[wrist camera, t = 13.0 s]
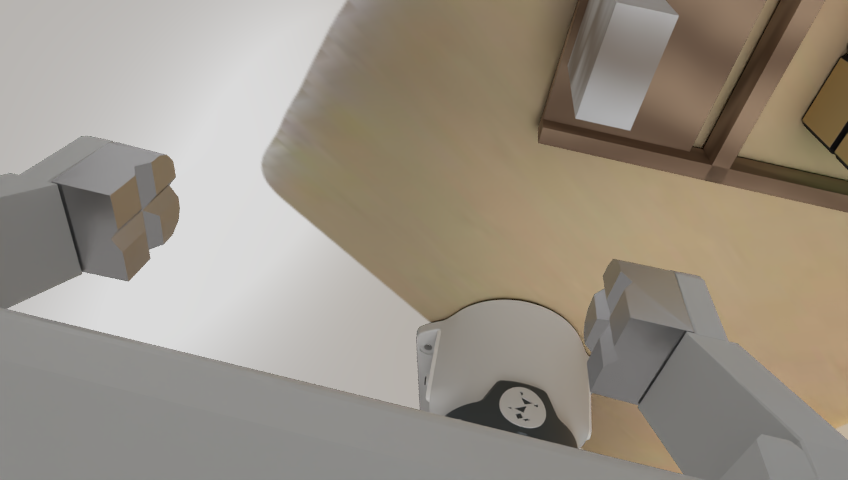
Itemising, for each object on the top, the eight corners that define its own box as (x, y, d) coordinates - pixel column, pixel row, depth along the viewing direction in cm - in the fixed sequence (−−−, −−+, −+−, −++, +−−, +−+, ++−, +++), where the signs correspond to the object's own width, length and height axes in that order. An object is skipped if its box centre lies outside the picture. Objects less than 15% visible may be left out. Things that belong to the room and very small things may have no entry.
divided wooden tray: (919, 213, 40) (1017, 306, 32) (537, 128, 41) (538, 196, 33) (1129, -31, 30) (1346, 12, 22) (620, -136, 31) (650, -130, 23)
